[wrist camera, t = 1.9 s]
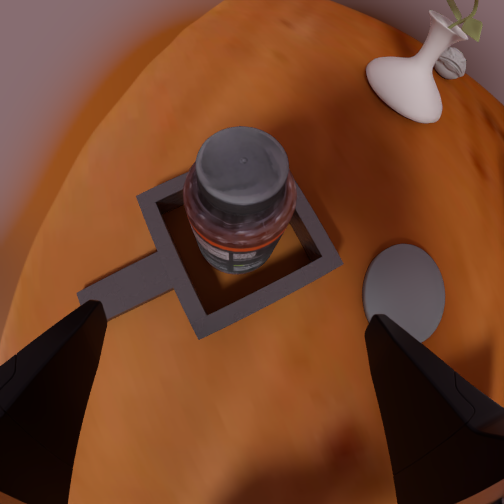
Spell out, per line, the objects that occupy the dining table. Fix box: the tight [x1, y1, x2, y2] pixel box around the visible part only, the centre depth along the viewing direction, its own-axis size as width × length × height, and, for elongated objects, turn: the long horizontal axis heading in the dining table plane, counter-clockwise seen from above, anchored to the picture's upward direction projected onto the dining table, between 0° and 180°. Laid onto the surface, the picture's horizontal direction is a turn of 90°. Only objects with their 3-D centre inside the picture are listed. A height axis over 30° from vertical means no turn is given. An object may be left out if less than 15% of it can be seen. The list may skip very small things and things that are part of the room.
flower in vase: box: [366, 0, 482, 123], centre depth 17 cm, size 13×11×25 cm
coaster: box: [362, 244, 445, 343], centre depth 22 cm, size 9×9×1 cm
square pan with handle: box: [77, 172, 343, 340], centre depth 20 cm, size 19×11×2 cm, turn 117°
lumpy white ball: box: [434, 47, 466, 79], centre depth 29 cm, size 6×7×7 cm
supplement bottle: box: [183, 126, 297, 274], centre depth 17 cm, size 6×6×11 cm
